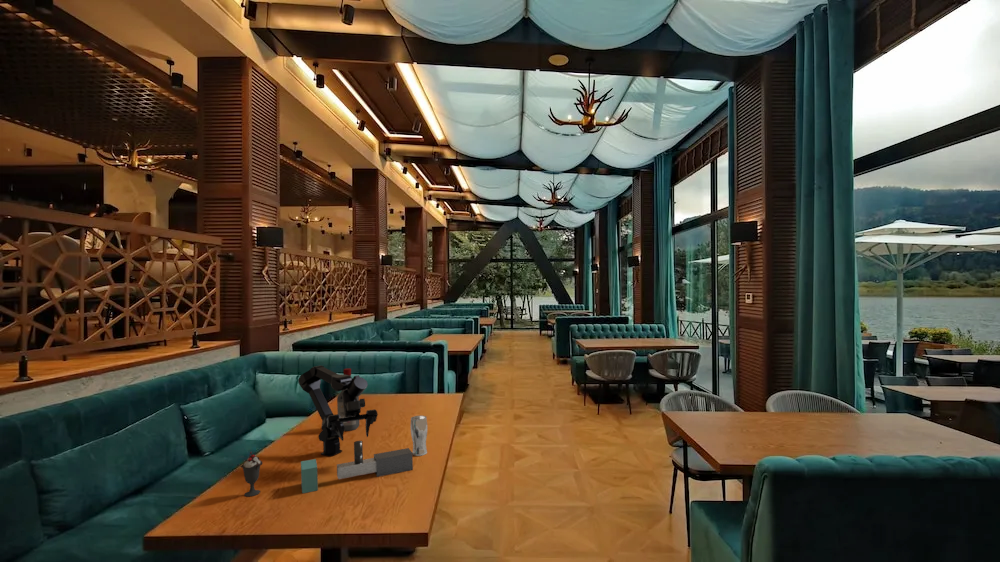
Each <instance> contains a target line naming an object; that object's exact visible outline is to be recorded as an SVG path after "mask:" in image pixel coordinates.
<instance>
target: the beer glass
mask: <svg viewBox="0 0 1000 562" xmlns="http://www.w3.org/2000/svg"><path fill="white" fill-rule="evenodd" d="M427 418H428V417H427V416H426V415H414V416H412V417H410V435H411V440H412V456H415V457H421V456H424V455H427V454H428V450H427V436H428V420H427Z"/></svg>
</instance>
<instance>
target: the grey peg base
mask: <svg viewBox="0 0 1000 562" xmlns="http://www.w3.org/2000/svg"><path fill="white" fill-rule="evenodd" d="M363 449H364V448H363V441H362V440H356V441H354V442H353V455H354V456H353V457H354V458H353V459H354V461H349V462H348V461H347V462H343V463H338V464H336V476H337V479H338V480H343V479H347V478H353V477H358V476H363V475H368V474H373V473H375V472H377V467H376V459H375V458H374V457H371V458H366V459H364V456H363V453H364V451H363Z"/></svg>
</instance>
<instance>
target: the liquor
mask: <svg viewBox="0 0 1000 562" xmlns="http://www.w3.org/2000/svg"><path fill="white" fill-rule="evenodd" d="M343 374H344V375H349V376H351V377H352V368H343ZM344 391H345V390H342V391H340V393H339V394H338V396H337V397H336V401H337V403H336V406H337V409H336V410H337V411H336V412H337V414H338V415H339V416H340V417H345V415H344V408H343V399H340V397H341V395H342V393H343V392H344ZM357 400H358V401H359V400H360V396H358V397H357ZM343 424H344V427H345V428H344V432H351V431H352V432H353V431H355V430H357V429H358V428H359V426H360V420H355V421H348V422H343Z"/></svg>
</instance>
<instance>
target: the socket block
mask: <svg viewBox="0 0 1000 562" xmlns="http://www.w3.org/2000/svg"><path fill="white" fill-rule="evenodd" d="M300 475H301V477H300V478H301V480H300V481H301V482H300V483H301V493H302V494H306V493H307V494H308V493H311V492H316V491H317V492H318V491H319V486H318V485H319V484H318V483H319V481H318V463H317V459H316V458H314V459H308V460H302V461H300Z"/></svg>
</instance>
